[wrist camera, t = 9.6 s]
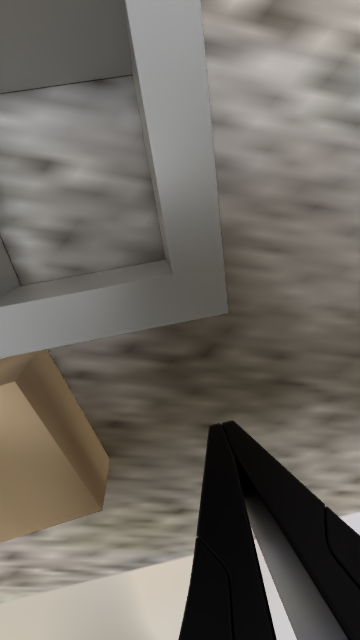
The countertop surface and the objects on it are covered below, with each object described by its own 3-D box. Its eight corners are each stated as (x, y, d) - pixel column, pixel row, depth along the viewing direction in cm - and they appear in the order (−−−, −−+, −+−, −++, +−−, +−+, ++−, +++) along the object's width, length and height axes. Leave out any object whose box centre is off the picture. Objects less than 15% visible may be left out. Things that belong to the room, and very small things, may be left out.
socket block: (171, 0, 6) (187, -151, 3) (206, 288, 8) (228, 313, 6) (-143, 40, 5) (-365, -98, 3) (-2, 327, 8) (-62, 370, 6)
